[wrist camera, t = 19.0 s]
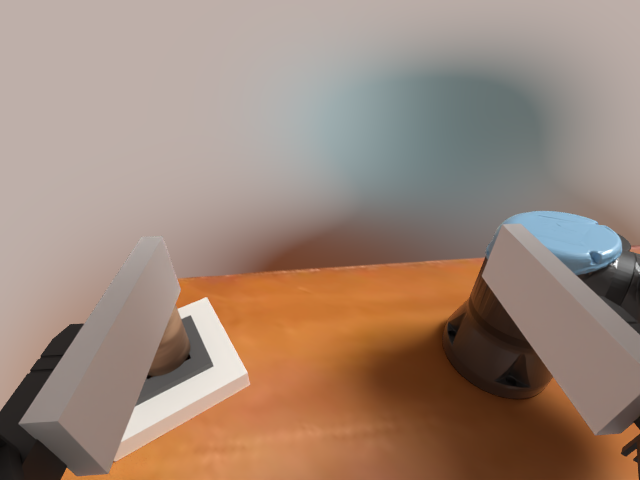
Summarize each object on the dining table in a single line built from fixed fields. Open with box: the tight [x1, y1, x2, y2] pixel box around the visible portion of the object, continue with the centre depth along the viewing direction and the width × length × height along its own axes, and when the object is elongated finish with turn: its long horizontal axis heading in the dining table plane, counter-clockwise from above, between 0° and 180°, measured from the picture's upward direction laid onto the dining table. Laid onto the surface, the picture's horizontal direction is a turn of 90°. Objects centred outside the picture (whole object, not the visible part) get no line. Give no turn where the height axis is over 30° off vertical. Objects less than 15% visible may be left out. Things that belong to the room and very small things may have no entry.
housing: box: [114, 297, 250, 462], centre depth 46 cm, size 17×17×4 cm
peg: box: [148, 304, 191, 376], centre depth 43 cm, size 7×7×16 cm
